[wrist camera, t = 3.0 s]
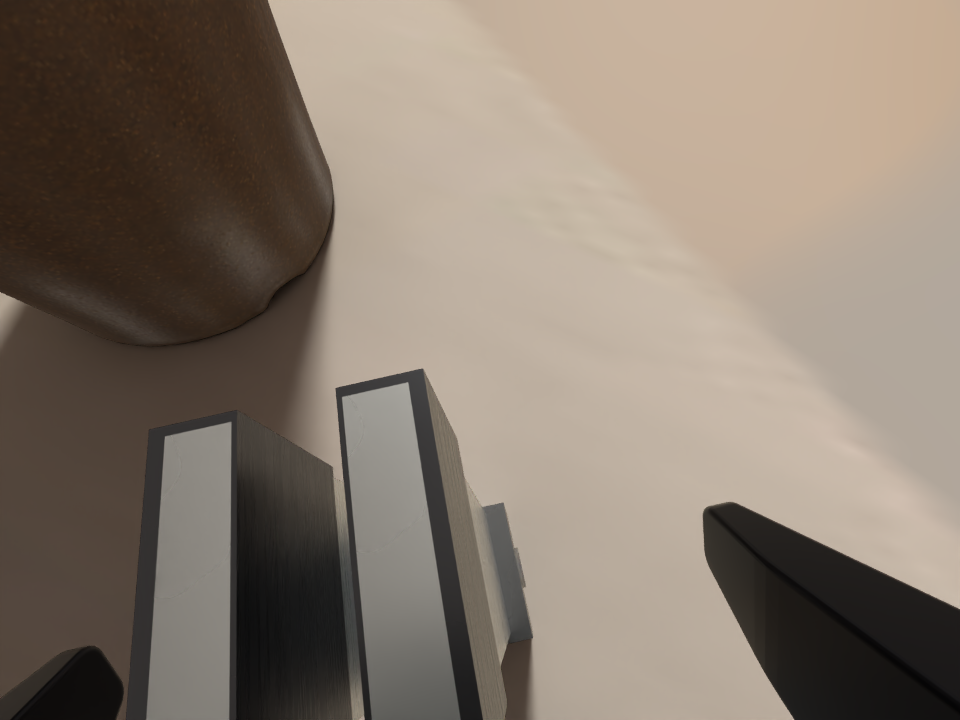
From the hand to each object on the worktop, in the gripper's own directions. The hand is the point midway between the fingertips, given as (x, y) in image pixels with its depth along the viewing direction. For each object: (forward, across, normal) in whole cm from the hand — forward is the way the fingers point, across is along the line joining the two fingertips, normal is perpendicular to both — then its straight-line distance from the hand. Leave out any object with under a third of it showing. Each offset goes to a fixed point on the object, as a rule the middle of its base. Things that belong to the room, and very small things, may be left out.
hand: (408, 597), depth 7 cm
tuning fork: (+6, 0, +6) cm, 8 cm away
